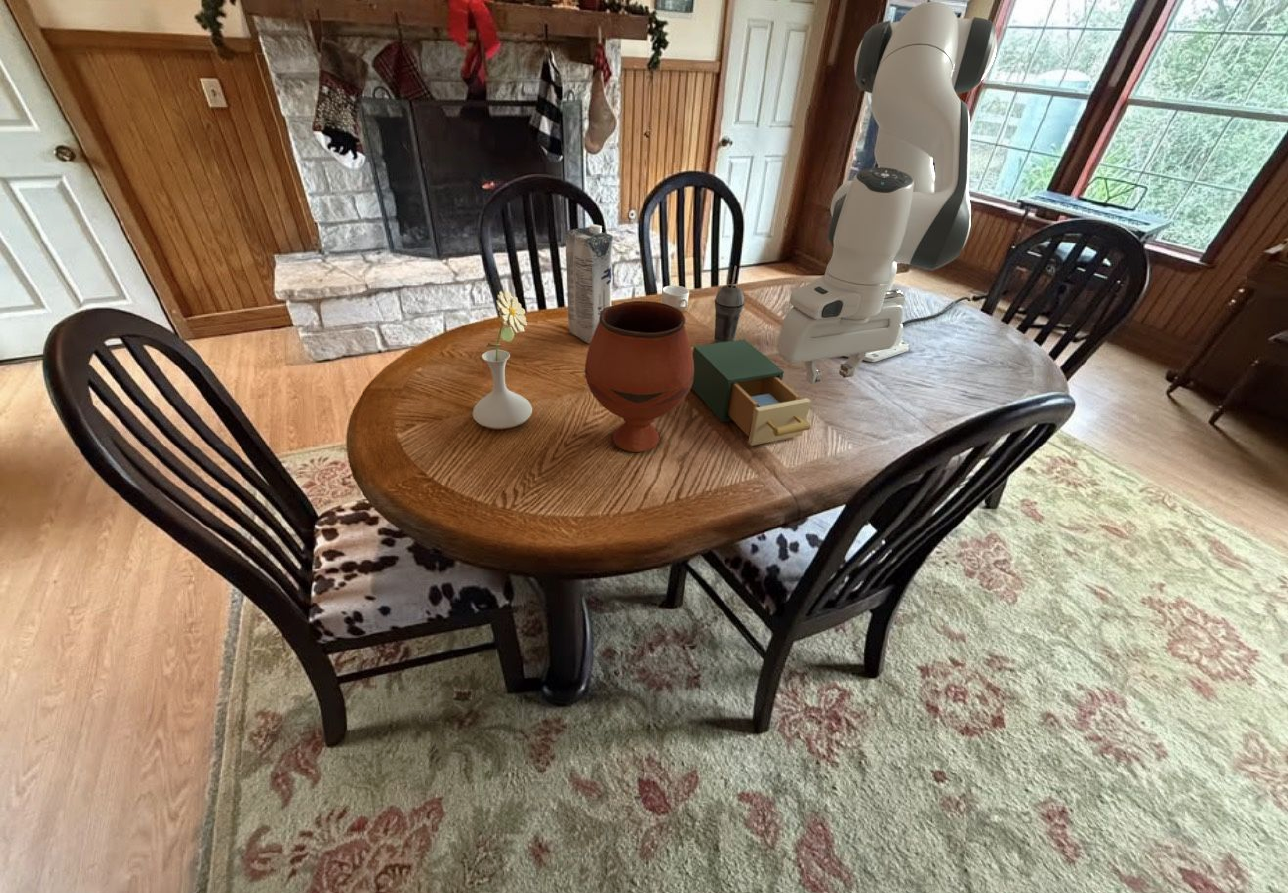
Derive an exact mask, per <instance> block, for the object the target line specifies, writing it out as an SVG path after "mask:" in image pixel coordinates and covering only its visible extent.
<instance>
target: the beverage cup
mask: <svg viewBox="0 0 1288 893" xmlns="http://www.w3.org/2000/svg"><path fill="white" fill-rule="evenodd" d="M737 268H738V266H737V265H734V268H733V274H732V279H731V284H726V285H723V286H722V287H721V288H720V289H719V290H718V292H717V293H716V295H715V299H714V309H715V316H714V317H715V319H714V343H721V342H728V341H735V337H736V334H737V331H738V325H739V322H740V317H741V313H742V312H743V309H744V306H745V296H744V292H743V290H742V289H741V288H740V287H739V286H737V285H735V279H736V273H737Z"/></svg>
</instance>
